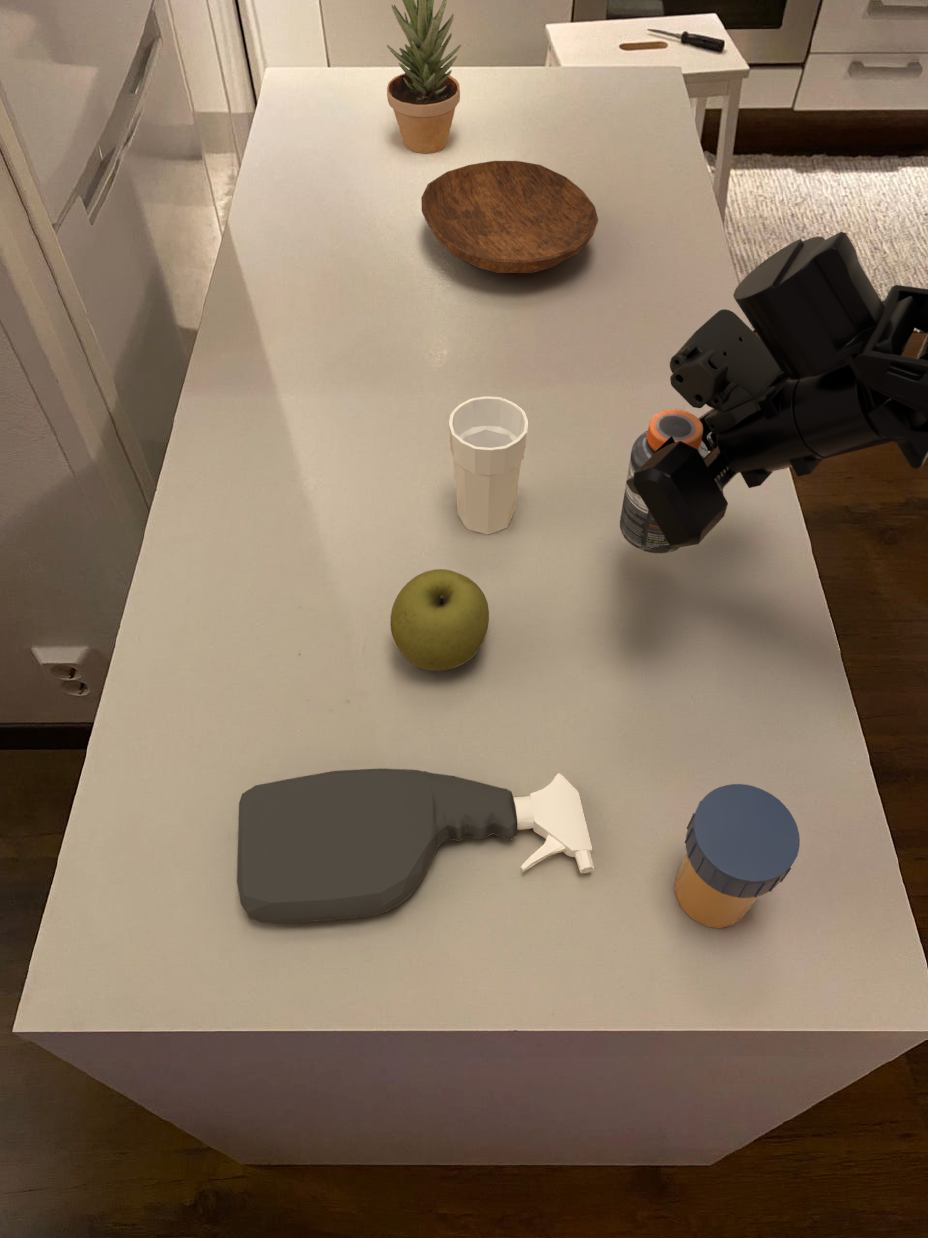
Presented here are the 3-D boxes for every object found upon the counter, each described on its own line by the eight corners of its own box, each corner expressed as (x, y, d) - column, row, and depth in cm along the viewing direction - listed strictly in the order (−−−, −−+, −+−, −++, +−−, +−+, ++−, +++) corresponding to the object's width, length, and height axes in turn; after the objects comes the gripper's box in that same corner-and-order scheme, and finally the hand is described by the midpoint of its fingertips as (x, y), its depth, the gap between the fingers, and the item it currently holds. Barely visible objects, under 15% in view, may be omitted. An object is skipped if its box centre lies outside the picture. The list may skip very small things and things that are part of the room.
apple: (507, 650, 78) (510, 597, 73) (433, 705, 75) (431, 654, 69) (447, 596, 82) (445, 541, 76) (374, 647, 79) (367, 593, 73)
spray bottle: (244, 792, 71) (568, 759, 73) (241, 937, 64) (597, 897, 66) (237, 773, 68) (572, 740, 70) (233, 922, 62) (602, 881, 64)
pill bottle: (696, 513, 80) (724, 408, 71) (682, 563, 77) (710, 460, 68) (627, 496, 81) (646, 391, 72) (610, 545, 78) (628, 442, 69)
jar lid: (754, 790, 63) (765, 770, 61) (807, 878, 59) (821, 861, 57) (666, 821, 61) (674, 802, 59) (716, 914, 58) (726, 897, 56)
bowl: (470, 317, 105) (470, 278, 101) (397, 219, 117) (394, 180, 113) (624, 275, 110) (630, 236, 106) (538, 184, 122) (541, 146, 118)
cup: (488, 551, 85) (491, 461, 76) (435, 514, 87) (432, 423, 79) (536, 512, 88) (544, 421, 79) (483, 477, 90) (485, 385, 82)
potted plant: (381, 155, 127) (366, -61, 107) (400, 122, 132) (389, -90, 113) (454, 164, 125) (452, -54, 106) (470, 130, 131) (471, -83, 111)
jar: (726, 846, 68) (760, 784, 60) (764, 913, 65) (804, 857, 57) (661, 869, 67) (687, 810, 59) (697, 939, 64) (729, 886, 56)
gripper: (834, 239, 63) (667, 318, 76) (683, 378, 55) (524, 439, 68) (904, 382, 66) (732, 434, 79) (771, 535, 58) (603, 565, 71)
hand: (652, 463), depth 74 cm, fingers closed on pill bottle, 6 cm apart
